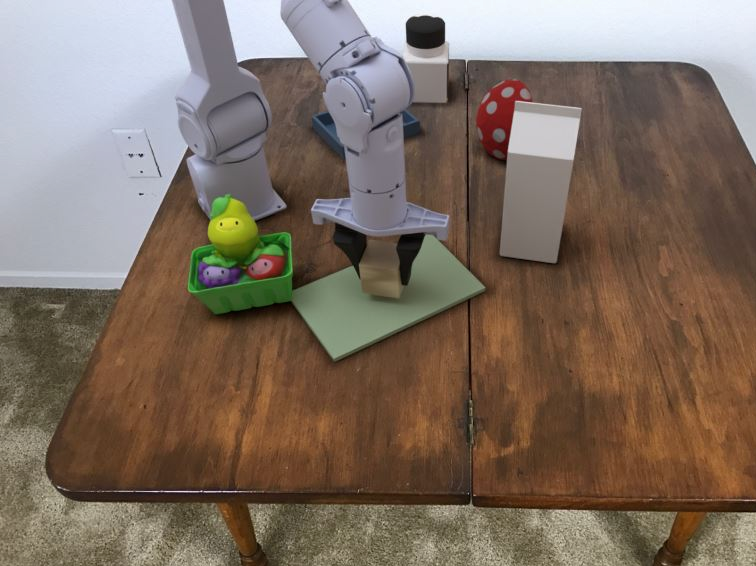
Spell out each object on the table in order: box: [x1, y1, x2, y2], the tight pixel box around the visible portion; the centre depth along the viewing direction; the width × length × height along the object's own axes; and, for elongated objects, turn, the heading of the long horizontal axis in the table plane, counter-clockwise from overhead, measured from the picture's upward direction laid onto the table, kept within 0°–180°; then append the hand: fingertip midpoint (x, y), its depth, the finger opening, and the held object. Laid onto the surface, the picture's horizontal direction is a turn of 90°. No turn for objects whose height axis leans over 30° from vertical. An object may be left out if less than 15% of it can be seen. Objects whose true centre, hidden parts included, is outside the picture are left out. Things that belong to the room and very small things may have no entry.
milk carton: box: [499, 101, 583, 264], centre depth 79 cm, size 7×7×19 cm
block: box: [359, 239, 404, 298], centre depth 77 cm, size 4×4×4 cm
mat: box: [290, 234, 486, 363], centre depth 80 cm, size 20×12×1 cm, turn 124°
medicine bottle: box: [402, 13, 450, 104], centre depth 107 cm, size 7×7×12 cm
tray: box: [310, 108, 421, 160], centre depth 102 cm, size 13×10×2 cm
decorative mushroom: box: [475, 78, 534, 161], centre depth 98 cm, size 11×11×15 cm
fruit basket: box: [187, 195, 294, 315], centre depth 75 cm, size 11×9×11 cm
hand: (385, 276), depth 78 cm, fingers closed on block, 4 cm apart
